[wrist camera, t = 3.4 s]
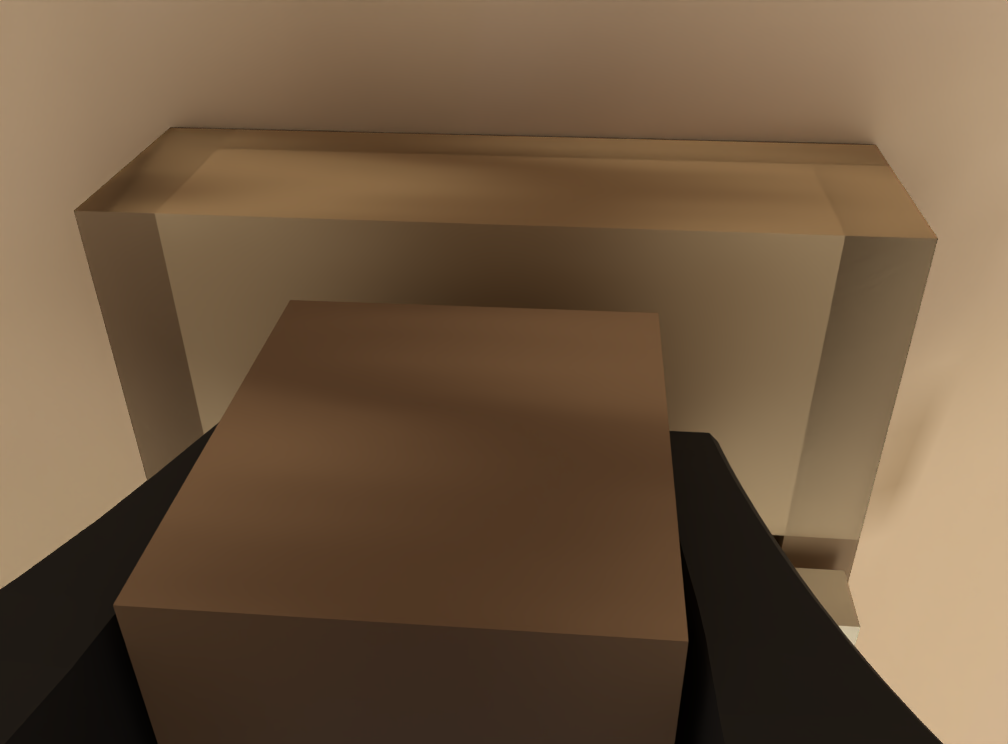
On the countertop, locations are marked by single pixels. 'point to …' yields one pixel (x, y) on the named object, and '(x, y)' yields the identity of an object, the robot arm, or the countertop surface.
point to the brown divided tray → (539, 278)
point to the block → (423, 538)
